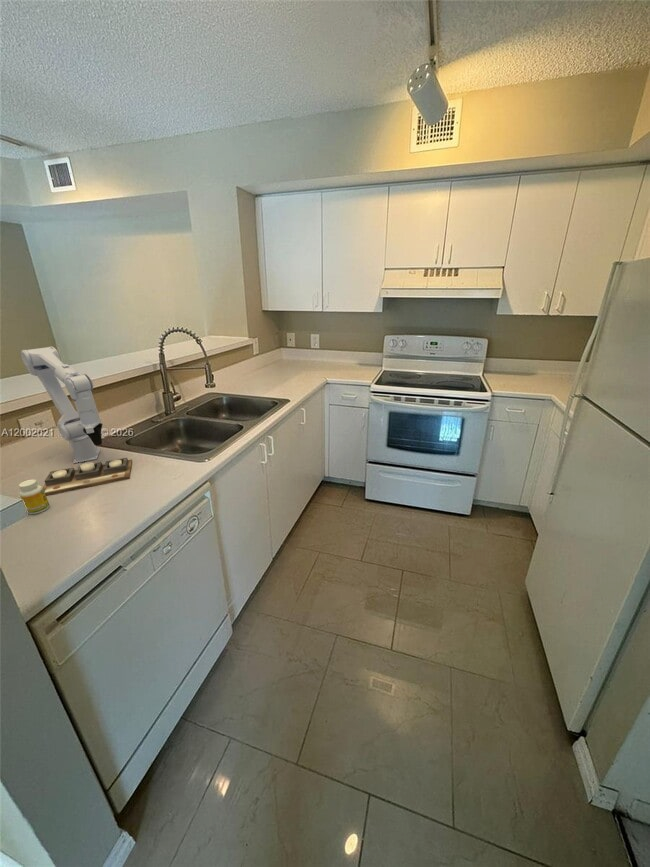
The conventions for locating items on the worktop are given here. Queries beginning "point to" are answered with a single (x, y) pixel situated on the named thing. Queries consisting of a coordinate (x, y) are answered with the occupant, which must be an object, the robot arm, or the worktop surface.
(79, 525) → the worktop surface
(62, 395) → the robot arm
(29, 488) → the supplement bottle
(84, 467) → the button middle
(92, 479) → the board
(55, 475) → the button left
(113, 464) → the button right
